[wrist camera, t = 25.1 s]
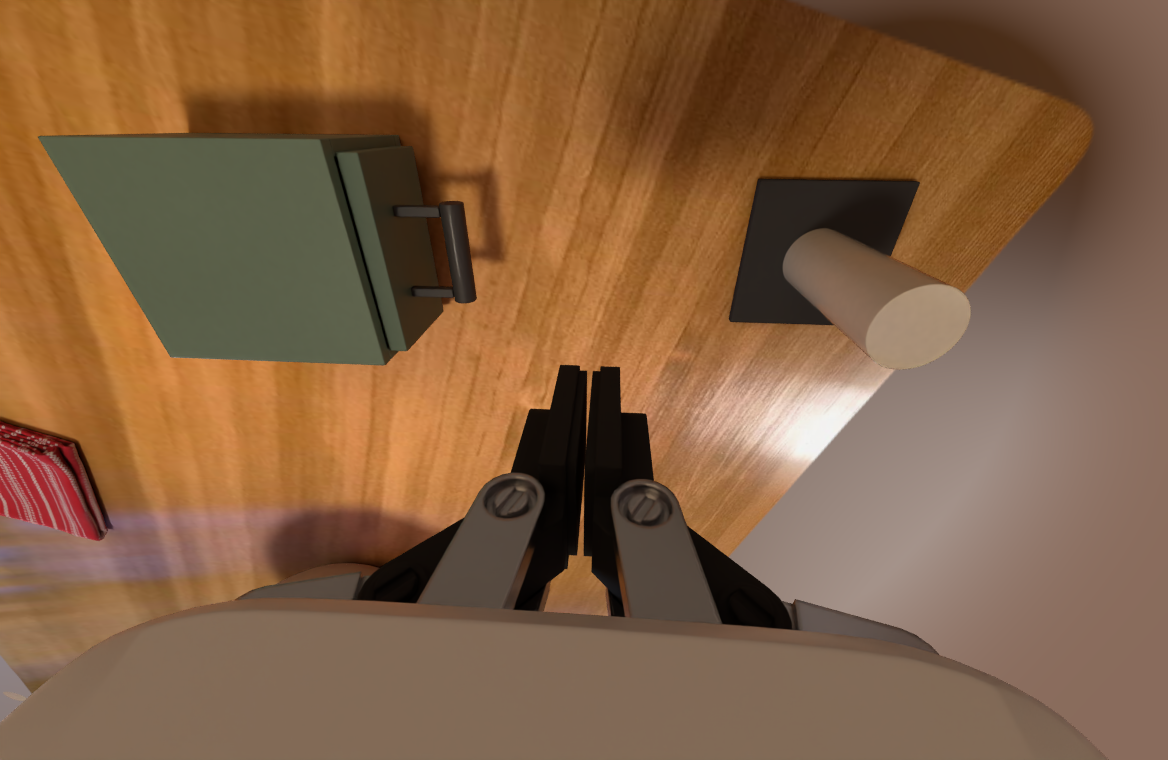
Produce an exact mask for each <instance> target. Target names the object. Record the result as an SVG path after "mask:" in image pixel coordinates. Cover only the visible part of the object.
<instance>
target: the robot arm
mask: <svg viewBox="0 0 1168 760" xmlns="http://www.w3.org/2000/svg"><path fill="white" fill-rule="evenodd" d="M586 415H587V371H580V366H577V365H560V368H559V372H558V377H557V381H556V386H555V390H554V395H553V399H552V404H551V408H550V410H549V409H530V410H529V413H528V416H527V420H526V423H525V426H524V430H523V433H522V436H521V440H520V443H519V447H518V450H517V453H516V457H515V460H514V463H513V467H512V470H511V473H508V474H502V475H500V476H498V477H495V478H493V479H492V480H490V481H489V482H488V483H486V484H485V485H484V486H483V488H482V489H481V490H480V492H479V493H478V495H477V497H476V499H475V500H474V502H473V504H472V506H471V507H470V509H469V511H468V513H467V514H466V516H465V517H464V518H463V519H461V520H459V521H458V522H456V523H454V524H453V525H451V526H449V527H447V528H446V529H444V530H442V531H441V532H439V533H437V534H435V535H434V536H432V537H430V538H429V539H427V540H425V541H424V542H422V543H420V544H418V545H417V546H415V547H413V548H412V549H410V550H408V551H407V552H405V553H403V554H401V555H400V556H398V557H396V558H395V559H393V560H391V561H389V562H388V563H386V564H384V565H383V566H382V567H380V568H379V569H378V570H376V571H375V572H374V573H373V574H372V575H370V576H363V574H362V572H355V573H348V574H342V575H335V576H329V577H322V578H315V579H309V580H302V581H296V582H289V583H283V584H276V585H270V586H264V587H261V588H257V589H254V590H251V591H249V592H247V593H246V594H244V595H242V596H240V597H238V598H237V599H235V600H234V601H228V602H222V603H216V604H210V605H205V606H200V607H194V608H191V609H187V610H184V611H180V612H177V613H173V614H170V615H166V616H163V617H159V618H156V619H153V620H150V621H148V622H145V623H142V624H139V625H137V626H134V627H132V628H129V629H127V630H125V631H122V632H120V633H118V634H115V635H113V636H111V637H110V638H108V639H106V640H104V641H102V642H101V643H99V644H97V645H95V646H93V647H92V648H90V649H89V650H88V651H86V652H85V653H83V654H82V655H80V656H79V657H77V658H76V659H75V660H73V661H72V662H71V663H69V664H68V665H67V666H65V667H64V668H63V669H62V670H60V671H59V672H58V673H57V674H55V675H54V676H53V677H52V678H50V679H49V680H48V681H47V682H46V683H44V684H43V685H42V686H41V687H40V688H39V689H37V690H36V691H35V692H34V693H33V694H31V695H30V696H29V697H28V698H27V699H26V700H25V701H24V702H23V703H22V704H21V705H19V706H18V707H17V708H16V709H15V710H14V711H13V712H11V714H9V715H8V716H7V717H6V718H5V719H4V720H3V721H1V722H0V760H1108V759H1107V758H1106V756H1105V755H1104V754H1103V753H1102V752H1100V750H1098V749H1097V748H1096V747H1095V746H1094V745H1093V744H1092V743H1091V742H1090V741H1089V740H1088V739H1087V738H1086V737H1085V736H1084V735H1083V734H1082V733H1080V732H1079V731H1078V730H1077V729H1076V728H1075V727H1074V726H1072V725H1071V724H1070V723H1069V722H1068V721H1067V720H1065V719H1064V718H1063V717H1062V716H1060V715H1059V714H1057V713H1056V712H1054V711H1053V710H1052V709H1050V708H1048V707H1047V706H1045V705H1044V704H1043V703H1042V702H1040V701H1039V700H1037V699H1035V698H1033V697H1031V696H1030V695H1028V694H1026V693H1025V692H1023V691H1021V690H1019V689H1018V688H1016V687H1014V686H1012V685H1010V684H1008V683H1006V682H1004V681H1002V680H1000V679H998V678H996V677H994V676H991V675H989V674H986V673H984V672H981V671H979V670H977V669H974V668H972V667H970V666H967V665H965V664H962V663H960V662H957V661H955V660H952V659H949V658H946V657H943V656H940V655H939V654H938V653H937V652H936V651H935V649H933V647H932V646H931V645H929V644H928V643H926V642H925V641H923V640H922V639H921V638H919V637H918V636H917V635H915V634H912V633H910V632H908V631H905V630H903V629H901V628H897V627H894V626H890V625H887V624H883V623H879V622H876V621H872V620H869V619H865V618H861V617H858V616H854V615H850V614H847V613H843V612H840V611H836V610H832V609H829V608H825V607H822V606H818V605H814V604H811V603H807V602H804V601H800V600H796V599H795V600H794V602H793V604H791V603H787V602H784V601H781V600H780V598H779V597H778V596H777V595H776V594H774V593H773V592H772V591H771V590H770V589H769V588H768V587H767V586H765V585H764V584H763V583H761V582H760V581H759V580H758V579H756V578H755V577H754V576H752V575H751V574H750V573H748V572H747V571H746V570H744V569H743V568H742V567H741V566H739V565H738V564H737V563H735V562H734V561H733V560H731V559H730V558H729V557H727V556H726V555H725V554H724V553H722V552H721V551H720V550H718V549H717V548H716V547H714V546H713V545H712V544H710V543H709V542H708V541H706V540H705V539H704V538H703V537H701V536H700V535H699V534H697V533H696V532H695V531H693V530H692V529H691V528H689V527H688V526H687V524H686V522H685V519H684V516H683V513H682V510H681V508H680V505H679V502H678V500H677V498H676V497H675V495H674V494H673V493H672V492H671V491H670V490H669V489H668V488H667V487H666V486H664V485H662V484H660V483H658V482H655V481H654V478H653V469H652V460H651V451H650V442H649V433H648V424H647V416H646V414H643V413H621V397H620V367H604V366H601V369H600V371H593V375H592V387H591V398H590V410H589V422H588V433H587V445H586ZM584 468H585V481H584V556H592V573H593V574H594V575H595V576H596V577H597V578H598V579H599V580H600V581H601V582H602V583H603V584H604V585H605V586H606V602H607V609H608V616H599V615H584V614H569V613H554V612H543V611H544V608H545V604H546V601H547V598H548V594H549V591H550V583H551V582H550V581H551V580H552V579H553V578H555V577H556V576H557V575H558V574H560V573H561V572H562V571H564V569H567V567H568V558H569V555H577V550H578V538H579V526H580V515H581V503H582V492H583V480H584Z"/></svg>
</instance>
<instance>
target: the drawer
mask: <svg viewBox="0 0 1168 760" xmlns="http://www.w3.org/2000/svg"><path fill="white" fill-rule="evenodd" d="M336 157H337V158H334V159H335V163H336V166H337V170H338V174H339V177H340V181H341V184H342V188H343V192H344V195H345V199H346V202H347V206H348V209H349V213H350V217H351V220H352V224H353V227H354V231H355V234H356V238H357V242H358V245H359V249H360V252H361V256H362V260H363V263H364V267H365V270H366V274H367V277H368V281H369V285H370V288H371V292H372V295H373V299H374V302H375V306H376V310H377V313H378V317H379V320H380V324H381V327H384V331H385V334H386V338H387V342H388V345H389V349H390V350H391V351H408V350H409V349H410V348H411V346H412V345H413V344H414V343H415V342H416V341H417V340H418V339H419V338H420V337H421V335H422V334H423V333H424V332H425V331H426V330H427V329H428V328H429V327H430V326H431V324H432V323H433V322H434V321H435V320H436V319H437V318H438V317H439V316H440V315H441V314H442V312H443V305H442V300H441V297H443V298H454V297H455V301H456V302H458V303H471V302H474V301H475V300H476V299H477V297H476V290H475V283H474V275H473V268H472V261H471V254H470V247H469V239H468V232H467V225H466V218H465V211H464V203H463V202H460V201H446V202H441V203H439V206H436V205H424V204H423V199H422V193H421V188H420V183H419V177H418V172H417V167H416V161H415V156H414V151H413V147H412V146H391V147H381V148H371V149H361V150H351V151H341V152H336ZM426 217H431V218H440V217H441V220H442V226H443V232H444V238H445V244H446V250H447V256H448V261H449V267H450V273H451V279H452V285H453V287H446V286H439V284H438V279H437V273H436V268H435V263H434V257H433V252H432V247H431V241H430V236H429V231H428V225H427V220H426Z"/></svg>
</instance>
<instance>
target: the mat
mask: <svg viewBox="0 0 1168 760" xmlns="http://www.w3.org/2000/svg"><path fill="white" fill-rule="evenodd" d="M919 184H920V182H917V181H877V180H806V179H758V182H757V186H756V191H755V196H754V201H753V205H752V210H751V215H750V220H749V225H748V229H747V234H746V239H745V244H744V248H743V253H742V258H741V263H740V268H739V272H738V277H737V282H736V287H735V291H734V296H733V301H732V306H731V311H730V315H729V320H730V322H750V323H783V324H815V325H834V324H832V323H831V322H830V321H829V320H828V319H827V318H826V317H825V316H824V315H823V314H821V313H820V312H819V311H818V310H817V309H816V308H815V307H814V306H813V305H812V304H810V303H809V302H808V301H807V300H806V299H805V298H804V297H803V296H802V295H801V294H800V293H798V292H797V291H796V290H795V289H794V288H793V287H792V286H791V285H790V284H789V283H788V282H787V281H786V279H785V277H784V274H783V261H784V258H785V255H786V253H787V251H788V249H789V248H790V247H791V245H792V244H793V243H794V242H795V241H796V240H797V239H798V238H800V237H801V236H802V235H804V234H806V233H808V232H810V231H813V230H816V229H822V228H828V229H833V230H836V231H838V232H840V233H842V234H845V235H847V236H849V237H851V238H853V239H855V240H857V241H859V242H861V243H863V244H865V245H868V246H870V247H872V248H874V249H876V250H878V251H880V252H882V253H884V254H886V255H888V256H891V254H892V251H893V249H894V246H895V244H896V241H897V239H898V236H899V234H900V231H901V229H902V226H903V224H904V221H905V219H906V216H907V214H908V211H909V209H910V206H911V204H912V201H913V199H914V196H915V194H916V192H917V189H918V187H919Z"/></svg>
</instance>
